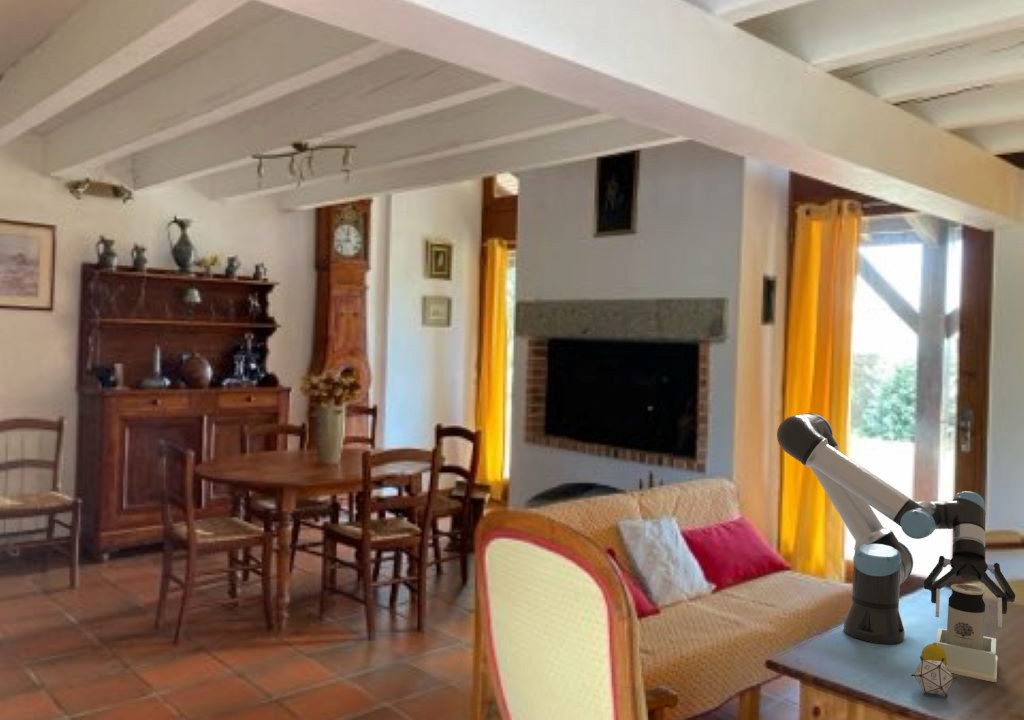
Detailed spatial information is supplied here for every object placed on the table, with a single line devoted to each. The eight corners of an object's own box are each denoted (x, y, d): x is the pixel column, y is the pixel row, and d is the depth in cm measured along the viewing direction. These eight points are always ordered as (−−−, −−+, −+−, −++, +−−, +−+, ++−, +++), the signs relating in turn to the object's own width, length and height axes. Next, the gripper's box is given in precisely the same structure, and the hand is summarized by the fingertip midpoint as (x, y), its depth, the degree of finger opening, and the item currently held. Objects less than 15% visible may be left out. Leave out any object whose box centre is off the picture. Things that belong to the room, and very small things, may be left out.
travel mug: (953, 651, 215) (957, 581, 214) (987, 661, 209) (991, 589, 208) (940, 658, 210) (944, 586, 209) (974, 668, 203) (978, 595, 203)
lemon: (923, 669, 204) (925, 637, 204) (948, 676, 200) (950, 643, 200) (917, 676, 200) (919, 642, 199) (942, 683, 196) (944, 649, 196)
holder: (996, 682, 198) (997, 658, 197) (930, 668, 205) (931, 645, 204) (997, 658, 213) (998, 636, 213) (935, 646, 220) (936, 624, 220)
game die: (934, 707, 191) (955, 669, 193) (949, 709, 183) (971, 670, 185) (898, 683, 193) (918, 645, 196) (911, 684, 185) (933, 645, 188)
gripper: (1022, 560, 217) (1025, 636, 204) (915, 546, 228) (912, 617, 216) (1025, 544, 212) (1028, 621, 199) (916, 531, 223) (912, 603, 211)
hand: (968, 619), depth 207 cm, fingers open, 13 cm apart
